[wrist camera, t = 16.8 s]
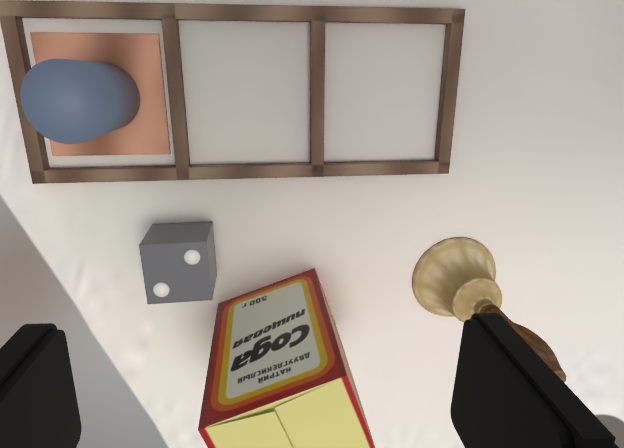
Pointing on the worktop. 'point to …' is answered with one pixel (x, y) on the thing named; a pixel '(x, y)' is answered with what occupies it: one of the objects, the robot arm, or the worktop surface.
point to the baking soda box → (280, 373)
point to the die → (179, 262)
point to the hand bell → (468, 288)
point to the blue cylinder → (78, 99)
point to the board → (149, 79)
